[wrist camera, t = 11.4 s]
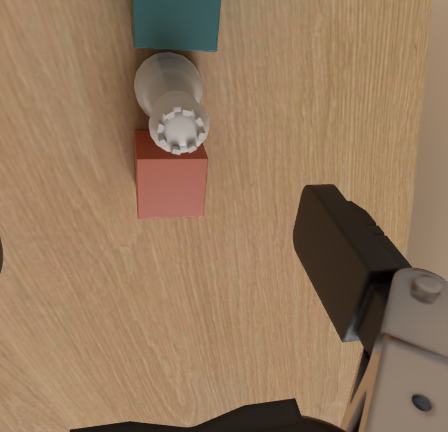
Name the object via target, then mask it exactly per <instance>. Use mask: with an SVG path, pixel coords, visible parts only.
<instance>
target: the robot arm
mask: <svg viewBox="0 0 448 432" xmlns="http://www.w3.org/2000/svg"><path fill="white" fill-rule="evenodd" d="M293 244H294V248H295V251H296V253H297V255H298V257H299V259H300V261H301V263H302V265H303V267H304V269H305V271H306V273H307V275H308V277H309V279H310V280H311V282H312V284H313V286H314V288H315V290H316V292H317V294H318V296H319V298H320V300H321V302H322V304H323V306H324V308H325V309H326V311H327V313H328V315H329V317H330V319H331V321H332V323H333V325H334V327H335V329H336V331H337V333H338V335H339V337H340V339H341V340H342V342H350V341H359V340H360V341H361V343H362V345H363V350H362V352H361V354H360V357H359V361H358V365H357V369H356V373H355V376H354V380H353V384H352V388H351V392H350V395H349V399H348V403H347V407H346V411H345V414H344V417H343V421H342V424H341V426H340V428H339V427H337V426H335V425H333V424H331V423H328V422H326V421H323V420H320V419H316V418H312V417H308V416H302V415H301V414H300V411H299V408H298V405H297V402H296V400H295V398H294V399H287V400H280V401H273V402H266V403H258V404H251V405H244V406H242V407H239V408H237V409H235V410H232V411H230V412H228V413H225V414H223V415H221V416H218V417H216V418H214V419H211V420H209V421H206V422H204V423H202V424H199V425H197V426H194V427H176V426H167V425H158V424H149V423H140V422H131V421H129V422H122V423H115V424H108V425H101V426H93V427H86V428H79V429H72V430H70V432H448V282H447V281H446V280H445V279H444V278H442V277H440V276H439V275H436V274H435V273H432V272H430V271H427V270H424V269H419V268H412V266H411V265H410V264H409V263H408V262H407V260H406V259H405V258H404V257H403V255H402V254H401V253H400V252H399V250H398V249H397V248H396V247H395V246H394V244H393V243H392V242H391V241H390V239H389V238H388V237H387V236H384V232H383V231H382V230H381V228H380V227H379V226H376V222H375V221H374V220H373V219H372V217H371V216H370V215H369V214H368V213H367V211H365V210H364V209H362V208H361V207H359V206H358V205H356V204H355V203H353V202H352V201H347V200H346V199H345V198H344V196H343V195H342V194H341V193H340V191H339V190H338V189H337V188H336V186H335V185H333V184H322V185H306V186H305V187H304V189H303V191H302V194H301V199H300V203H299V208H298V212H297V216H296V221H295V225H294V230H293ZM2 264H3V248H2V243H1V239H0V272H1V269H2Z"/></svg>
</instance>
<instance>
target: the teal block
mask: <svg viewBox="0 0 448 432" xmlns="http://www.w3.org/2000/svg"><path fill="white" fill-rule="evenodd" d="M220 6H221V0H131V11H132V34H133V43H134V48H144V49H164V50H185V51H205V52H216V51H217V43H218V31H219V18H220Z"/></svg>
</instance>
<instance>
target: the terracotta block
mask: <svg viewBox="0 0 448 432" xmlns="http://www.w3.org/2000/svg"><path fill="white" fill-rule="evenodd" d="M134 134H135V175H136V197H137V213H138V219H142V218H170V217H199V216H204V205H205V193H206V180H207V168H208V157H207V154H206V152H205V149H204V146H203V143H201V144H200V146H198V147H197V150H195V151H193V152H191V153H190V154H189V152H184V153H180V155H177V154H172V153H171V152H167V151H165V150H164V149H162V148H161V147H159V146H157V144H156V143H155V142H154V140H153V139H152V137H151V135H150V130H135V131H134Z"/></svg>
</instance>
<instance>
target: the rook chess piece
mask: <svg viewBox="0 0 448 432" xmlns="http://www.w3.org/2000/svg"><path fill="white" fill-rule="evenodd" d="M134 89H135V94H136V99H137V101H138V104H139V105H140V107H141V108H142V109H143V111H144V112H145V114H147V115H148V116H150V120H149V130H150V135H151V137H152V139H153V140H154V142H155V143H156V144H157V146H159V147H161V148H162V149H164V150H165V151H167V152H171V153H172V154H177V155H180V153H184V152H189V154H190V153H191V152H193V151H195V150H197V147H198V146H200V144H201V143H202V142H203V141H204V139H205V138H206V137H207V133H208V130H209V127H210V126H209V117H208V114H207V112H206V111H205V109H204V107H203V105H201V104H200V100H201V97H202V93H203V91H202V83H201V79H200V74H199V73H198V71H197V69H196V67H195V65H194V64H193V63H192V62H191V61H189V60H188V59H187V58H186V57H184V56H183V55H180V54H176V53H172V52H164V53H157V54H154V55H153V56H151V57H150V58H148V59H146V60H145V61H144V62H143V63H142V65H141V66H140V67H139V69H138V70H137V72H136V76H135V81H134Z"/></svg>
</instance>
